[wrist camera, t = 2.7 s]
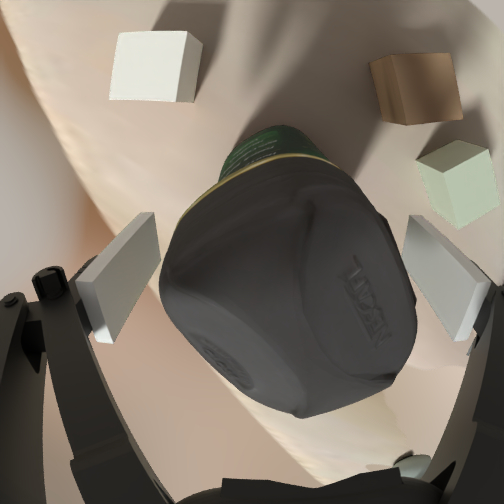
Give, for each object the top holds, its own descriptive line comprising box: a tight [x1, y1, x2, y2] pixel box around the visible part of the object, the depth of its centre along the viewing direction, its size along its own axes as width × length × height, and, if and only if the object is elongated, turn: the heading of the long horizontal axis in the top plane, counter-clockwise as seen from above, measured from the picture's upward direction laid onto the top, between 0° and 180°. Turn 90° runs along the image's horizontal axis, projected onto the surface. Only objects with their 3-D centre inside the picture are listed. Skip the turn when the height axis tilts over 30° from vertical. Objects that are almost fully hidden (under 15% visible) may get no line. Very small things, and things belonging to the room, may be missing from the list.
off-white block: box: [109, 31, 203, 103], centre depth 19 cm, size 5×5×5 cm
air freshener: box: [392, 455, 431, 479], centre depth 43 cm, size 11×8×10 cm
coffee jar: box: [159, 125, 417, 419], centre depth 17 cm, size 10×8×19 cm
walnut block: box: [369, 53, 463, 126], centre depth 18 cm, size 5×5×5 cm
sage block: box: [415, 140, 500, 230], centre depth 21 cm, size 5×5×5 cm
